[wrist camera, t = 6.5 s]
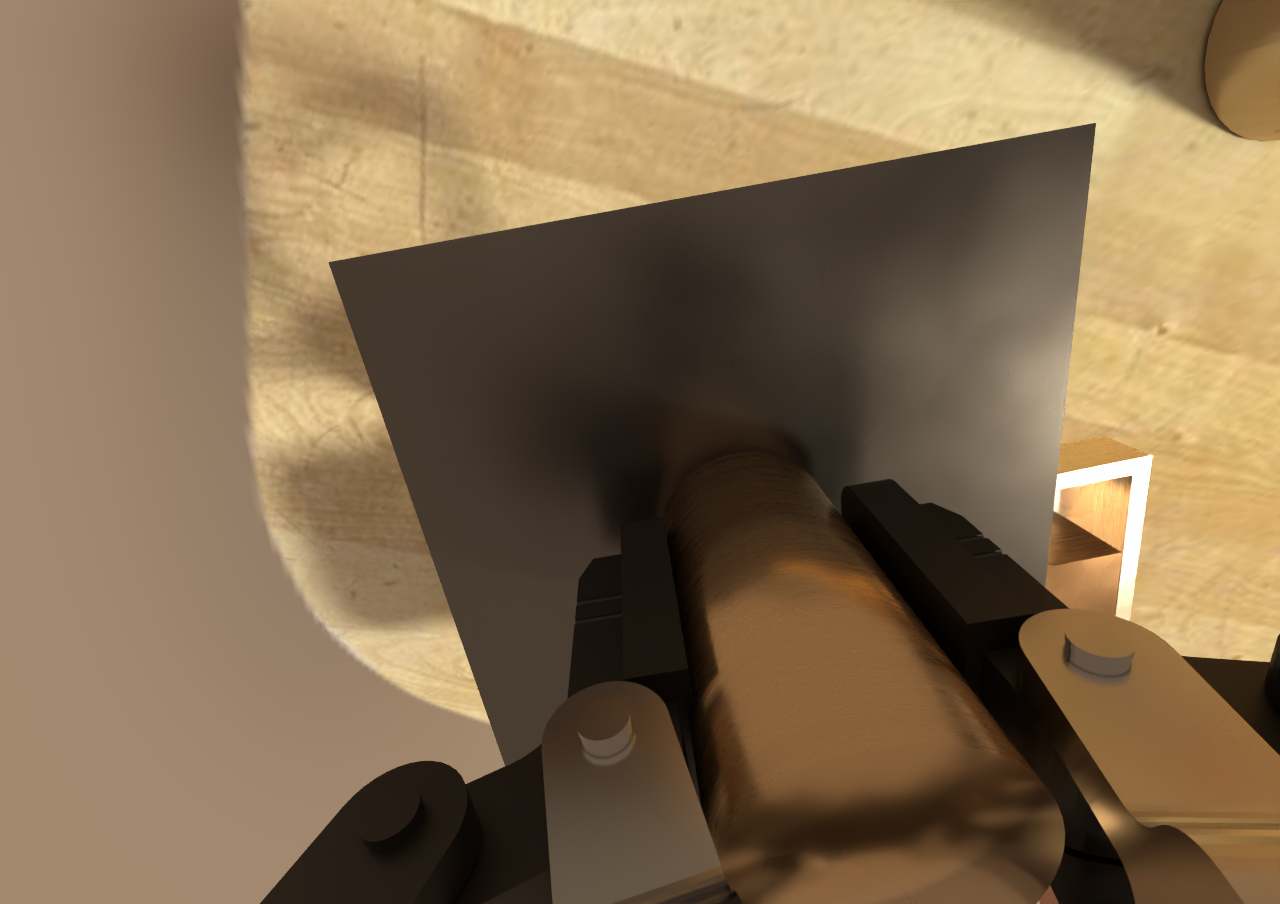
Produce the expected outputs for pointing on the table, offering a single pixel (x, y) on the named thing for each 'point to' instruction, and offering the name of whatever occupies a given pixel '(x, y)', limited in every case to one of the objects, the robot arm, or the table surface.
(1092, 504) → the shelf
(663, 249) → the small metal side table
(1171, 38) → the table surface
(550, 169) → the table surface
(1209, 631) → the table surface
